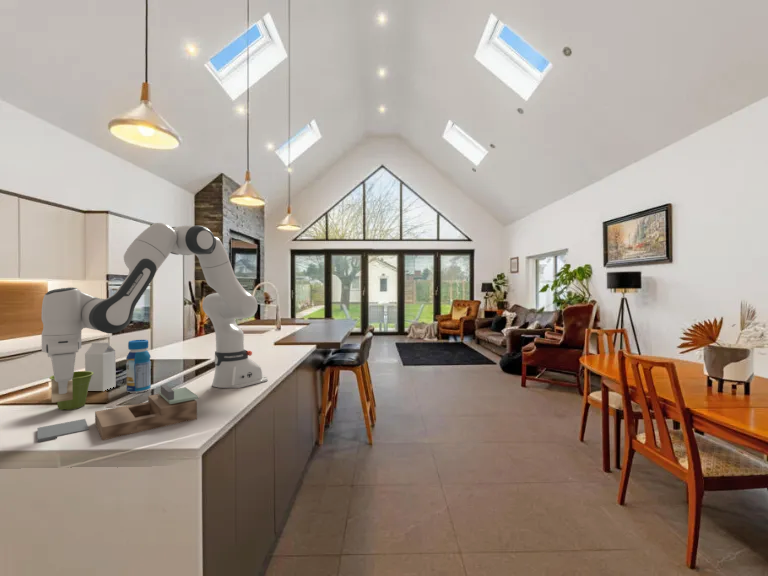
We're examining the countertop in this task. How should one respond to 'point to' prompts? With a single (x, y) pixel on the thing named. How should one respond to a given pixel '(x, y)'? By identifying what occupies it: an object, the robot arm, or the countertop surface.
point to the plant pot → (77, 390)
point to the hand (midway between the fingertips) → (62, 391)
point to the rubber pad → (61, 429)
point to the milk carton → (101, 366)
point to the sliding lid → (177, 394)
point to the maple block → (61, 397)
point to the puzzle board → (143, 416)
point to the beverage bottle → (138, 366)
